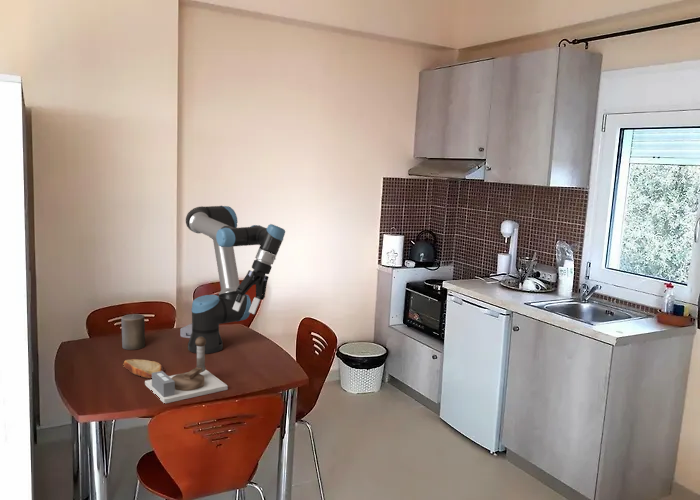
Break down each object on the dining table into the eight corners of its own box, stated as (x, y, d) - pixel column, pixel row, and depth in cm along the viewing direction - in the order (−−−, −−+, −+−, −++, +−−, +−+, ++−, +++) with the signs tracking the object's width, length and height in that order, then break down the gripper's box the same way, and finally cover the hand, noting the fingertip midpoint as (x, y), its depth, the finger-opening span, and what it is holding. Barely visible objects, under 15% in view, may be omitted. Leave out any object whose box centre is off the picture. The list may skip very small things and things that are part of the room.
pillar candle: (149, 346, 267) (149, 313, 265) (131, 351, 259) (130, 318, 257) (135, 341, 273) (134, 309, 270) (117, 347, 264) (116, 314, 262)
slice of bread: (125, 363, 247) (125, 354, 246) (169, 363, 248) (169, 355, 248) (111, 379, 229) (111, 370, 229) (159, 380, 231) (159, 370, 230)
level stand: (145, 384, 225) (144, 367, 224) (205, 372, 239) (205, 356, 238) (164, 403, 209) (164, 385, 208) (227, 389, 224) (227, 372, 222)
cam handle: (193, 392, 215) (193, 350, 213) (164, 387, 219) (163, 346, 216) (217, 376, 231) (217, 337, 229) (189, 371, 235) (189, 333, 232)
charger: (214, 331, 294) (197, 339, 280) (197, 328, 296) (180, 337, 282) (214, 321, 293) (197, 330, 279) (197, 319, 296) (180, 327, 282)
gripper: (257, 260, 228) (236, 312, 226) (284, 270, 251) (265, 317, 250) (241, 253, 230) (220, 305, 229) (269, 264, 254) (250, 310, 252)
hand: (243, 311), depth 239 cm, fingers open, 13 cm apart
